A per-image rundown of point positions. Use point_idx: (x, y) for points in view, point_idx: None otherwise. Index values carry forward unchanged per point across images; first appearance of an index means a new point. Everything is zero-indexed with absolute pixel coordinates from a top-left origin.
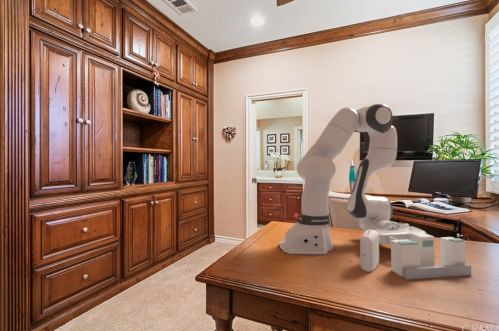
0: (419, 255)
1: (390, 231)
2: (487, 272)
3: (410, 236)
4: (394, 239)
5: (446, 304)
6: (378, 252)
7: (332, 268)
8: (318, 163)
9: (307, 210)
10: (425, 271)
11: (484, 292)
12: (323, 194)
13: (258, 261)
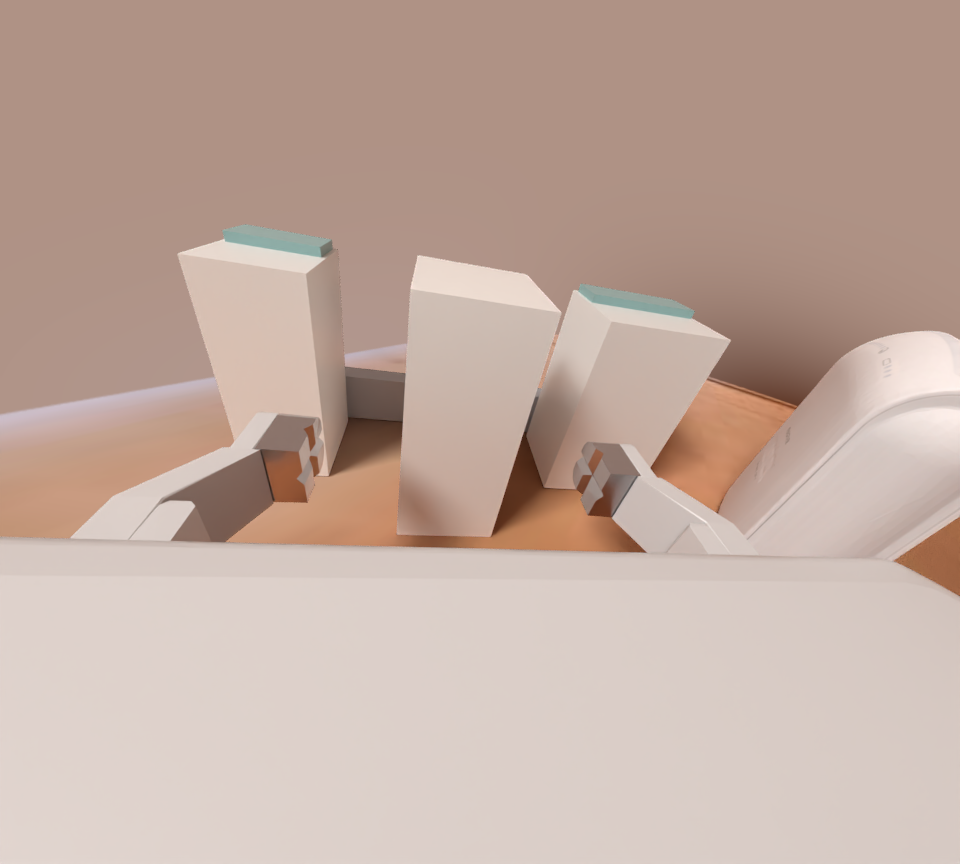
0: (555, 351)
1: (777, 813)
2: (162, 399)
3: (549, 344)
4: (662, 486)
5: (547, 357)
6: (752, 500)
7: (928, 558)
8: None
9: None
10: None
11: (403, 354)
12: None
13: None
